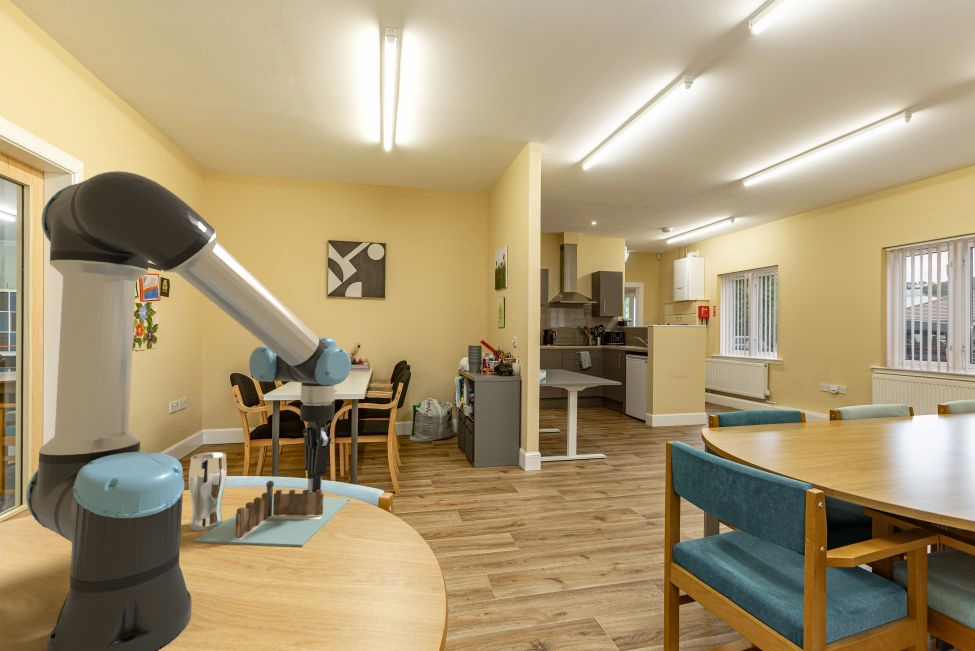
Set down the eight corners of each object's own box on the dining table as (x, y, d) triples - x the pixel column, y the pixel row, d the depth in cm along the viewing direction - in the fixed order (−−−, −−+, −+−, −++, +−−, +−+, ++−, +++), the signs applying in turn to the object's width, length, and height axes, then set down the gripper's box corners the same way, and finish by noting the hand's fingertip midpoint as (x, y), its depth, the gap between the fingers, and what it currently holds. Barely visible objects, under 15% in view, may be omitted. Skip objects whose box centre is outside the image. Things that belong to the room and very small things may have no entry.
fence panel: (272, 515, 100) (273, 491, 100) (274, 513, 101) (275, 489, 101) (322, 515, 100) (322, 491, 101) (323, 513, 101) (324, 489, 101)
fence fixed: (240, 541, 88) (242, 499, 88) (232, 541, 88) (234, 499, 88) (274, 516, 101) (275, 479, 101) (267, 516, 101) (268, 479, 101)
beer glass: (211, 532, 92) (214, 460, 93) (178, 531, 92) (181, 459, 93) (231, 519, 99) (234, 451, 100) (200, 518, 99) (203, 451, 100)
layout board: (302, 546, 86) (302, 544, 86) (194, 542, 87) (194, 539, 87) (349, 500, 112) (349, 498, 112) (265, 497, 113) (265, 495, 113)
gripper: (343, 405, 101) (339, 509, 100) (324, 398, 111) (321, 493, 110) (310, 407, 96) (305, 517, 95) (293, 400, 106) (289, 499, 105)
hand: (313, 504), depth 103 cm, fingers closed
